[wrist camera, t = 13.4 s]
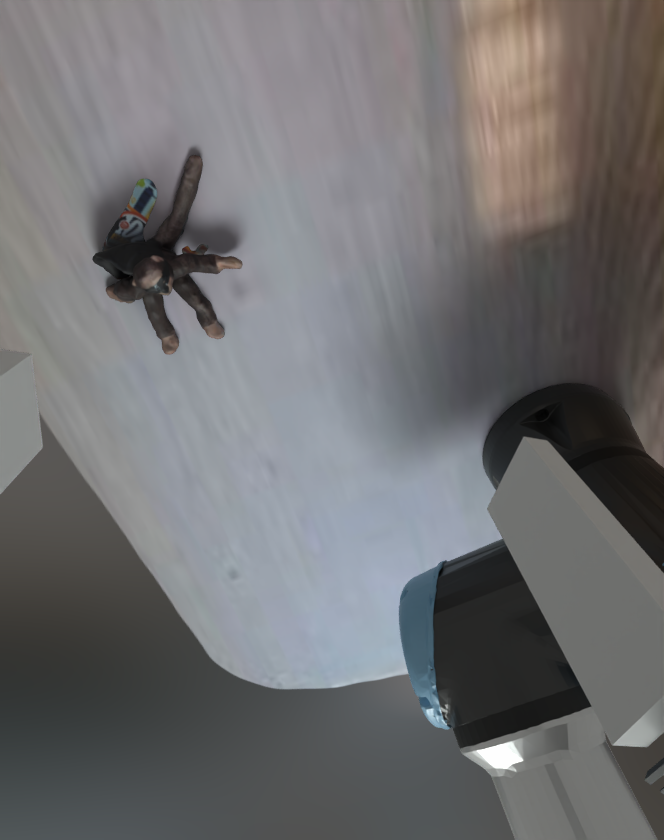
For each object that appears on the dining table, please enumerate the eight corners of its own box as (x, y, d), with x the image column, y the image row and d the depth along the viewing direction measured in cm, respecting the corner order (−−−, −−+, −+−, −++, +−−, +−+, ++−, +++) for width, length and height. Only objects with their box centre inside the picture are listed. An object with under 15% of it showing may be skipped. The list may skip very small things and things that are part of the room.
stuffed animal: (128, 360, 40) (41, 263, 29) (136, 274, 44) (63, 160, 33) (259, 346, 40) (223, 244, 29) (255, 261, 44) (223, 143, 33)
